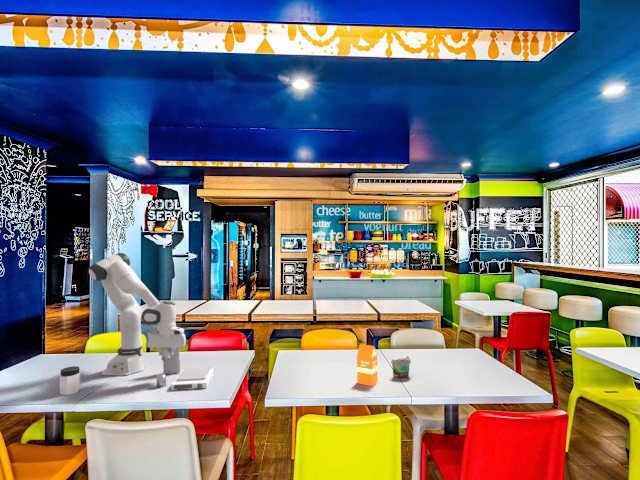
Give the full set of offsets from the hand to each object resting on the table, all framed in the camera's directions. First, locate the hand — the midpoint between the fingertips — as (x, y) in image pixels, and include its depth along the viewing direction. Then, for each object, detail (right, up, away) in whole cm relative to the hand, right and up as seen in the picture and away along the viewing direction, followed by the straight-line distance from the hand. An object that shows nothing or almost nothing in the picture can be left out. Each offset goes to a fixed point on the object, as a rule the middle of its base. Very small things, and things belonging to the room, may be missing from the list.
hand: (166, 355), depth 203 cm
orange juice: (+113, -13, -6) cm, 114 cm away
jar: (-43, -14, -16) cm, 48 cm away
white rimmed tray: (+17, -14, -3) cm, 22 cm away
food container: (+134, -13, +1) cm, 135 cm away
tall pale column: (-1, -14, +11) cm, 18 cm away
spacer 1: (+1, -14, -9) cm, 17 cm away
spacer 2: (0, -2, 0) cm, 2 cm away
